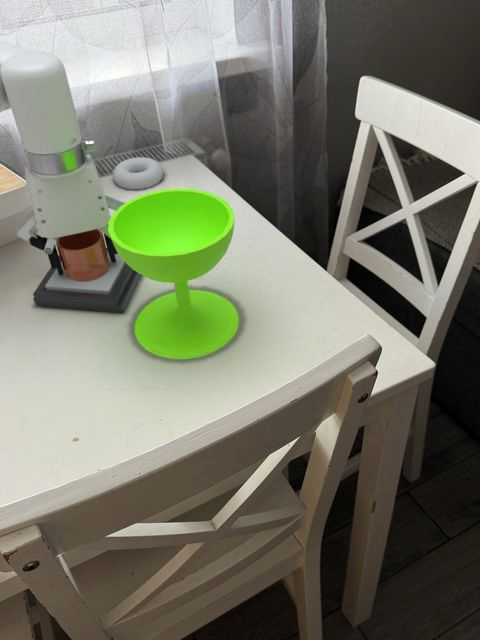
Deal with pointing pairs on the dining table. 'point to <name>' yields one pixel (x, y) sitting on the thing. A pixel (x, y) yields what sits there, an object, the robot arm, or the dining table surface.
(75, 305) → the scale
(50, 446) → the dining table surface
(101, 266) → the cup
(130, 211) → the wineglass
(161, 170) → the donut
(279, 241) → the dining table surface
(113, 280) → the grey square slab
